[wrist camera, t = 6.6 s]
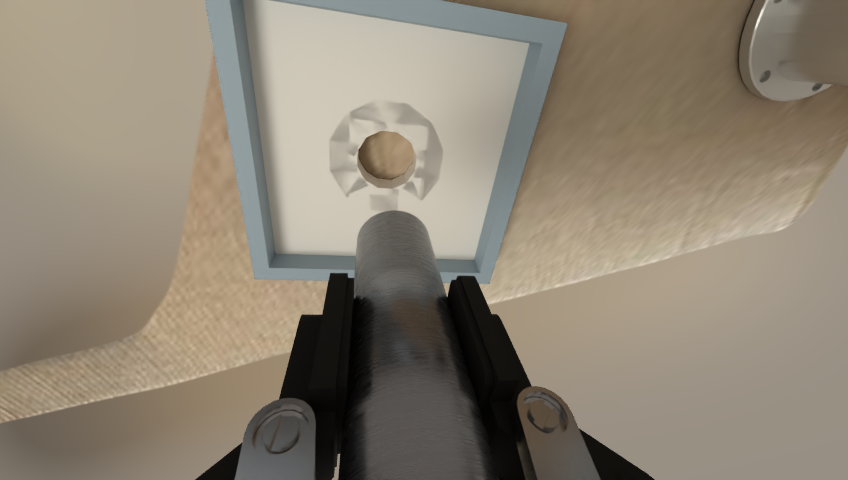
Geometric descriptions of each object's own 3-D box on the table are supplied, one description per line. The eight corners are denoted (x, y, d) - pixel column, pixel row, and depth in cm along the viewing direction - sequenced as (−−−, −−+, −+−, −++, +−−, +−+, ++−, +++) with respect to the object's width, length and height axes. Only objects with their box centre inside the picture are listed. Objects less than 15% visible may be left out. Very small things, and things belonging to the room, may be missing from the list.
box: (538, 25, 22) (567, 23, 19) (477, 258, 33) (489, 283, 29) (228, -29, 19) (196, -45, 16) (268, 251, 29) (254, 279, 26)
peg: (434, 212, 14) (607, 694, 4) (424, 272, 15) (524, 719, 5) (357, 208, 13) (307, 770, 3) (356, 270, 15) (319, 771, 5)
